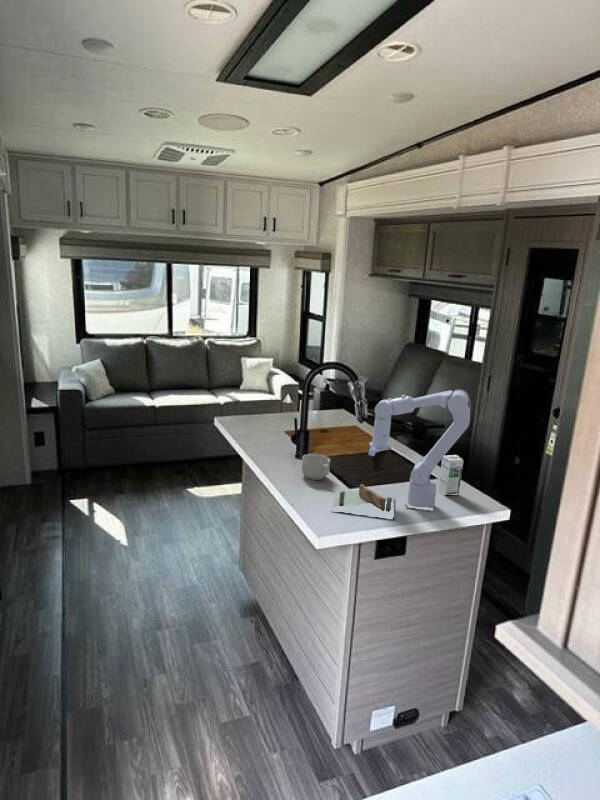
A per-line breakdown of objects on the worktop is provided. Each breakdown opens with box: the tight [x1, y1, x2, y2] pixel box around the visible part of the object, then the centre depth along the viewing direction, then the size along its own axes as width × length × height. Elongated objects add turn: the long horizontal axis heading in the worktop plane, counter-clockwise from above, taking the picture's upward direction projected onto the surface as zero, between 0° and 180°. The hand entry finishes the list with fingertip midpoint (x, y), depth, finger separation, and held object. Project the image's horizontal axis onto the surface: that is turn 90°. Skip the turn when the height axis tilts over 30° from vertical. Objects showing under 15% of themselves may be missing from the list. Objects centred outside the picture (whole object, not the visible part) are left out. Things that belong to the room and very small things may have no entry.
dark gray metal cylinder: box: [339, 491, 392, 512], centre depth 189 cm, size 18×2×6 cm, turn 80°
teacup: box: [301, 453, 331, 481], centre depth 213 cm, size 14×11×8 cm
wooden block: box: [358, 484, 386, 511], centre depth 194 cm, size 14×1×4 cm, turn 30°
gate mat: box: [332, 488, 396, 508], centre depth 194 cm, size 21×18×1 cm
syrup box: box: [437, 454, 464, 495], centre depth 208 cm, size 6×6×14 cm
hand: (377, 469), depth 199 cm, fingers closed
